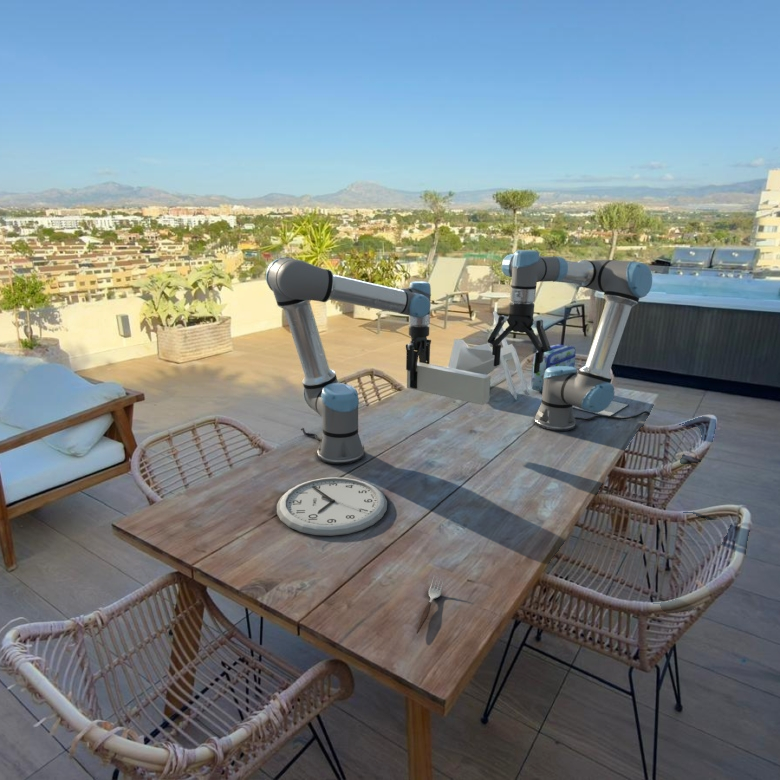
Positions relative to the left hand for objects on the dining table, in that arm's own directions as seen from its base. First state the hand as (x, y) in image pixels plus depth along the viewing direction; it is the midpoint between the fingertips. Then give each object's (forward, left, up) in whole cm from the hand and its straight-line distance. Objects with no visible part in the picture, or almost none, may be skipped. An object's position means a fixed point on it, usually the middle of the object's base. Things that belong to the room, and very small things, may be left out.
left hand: (417, 386), depth 197 cm
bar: (+13, -1, -1) cm, 13 cm away
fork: (+50, -89, -16) cm, 103 cm away
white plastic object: (+5, +53, -16) cm, 55 cm away
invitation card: (+57, +63, -16) cm, 87 cm away
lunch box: (+32, +77, -16) cm, 85 cm away
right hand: (+39, -8, +14) cm, 43 cm away
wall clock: (+10, -67, -16) cm, 69 cm away
